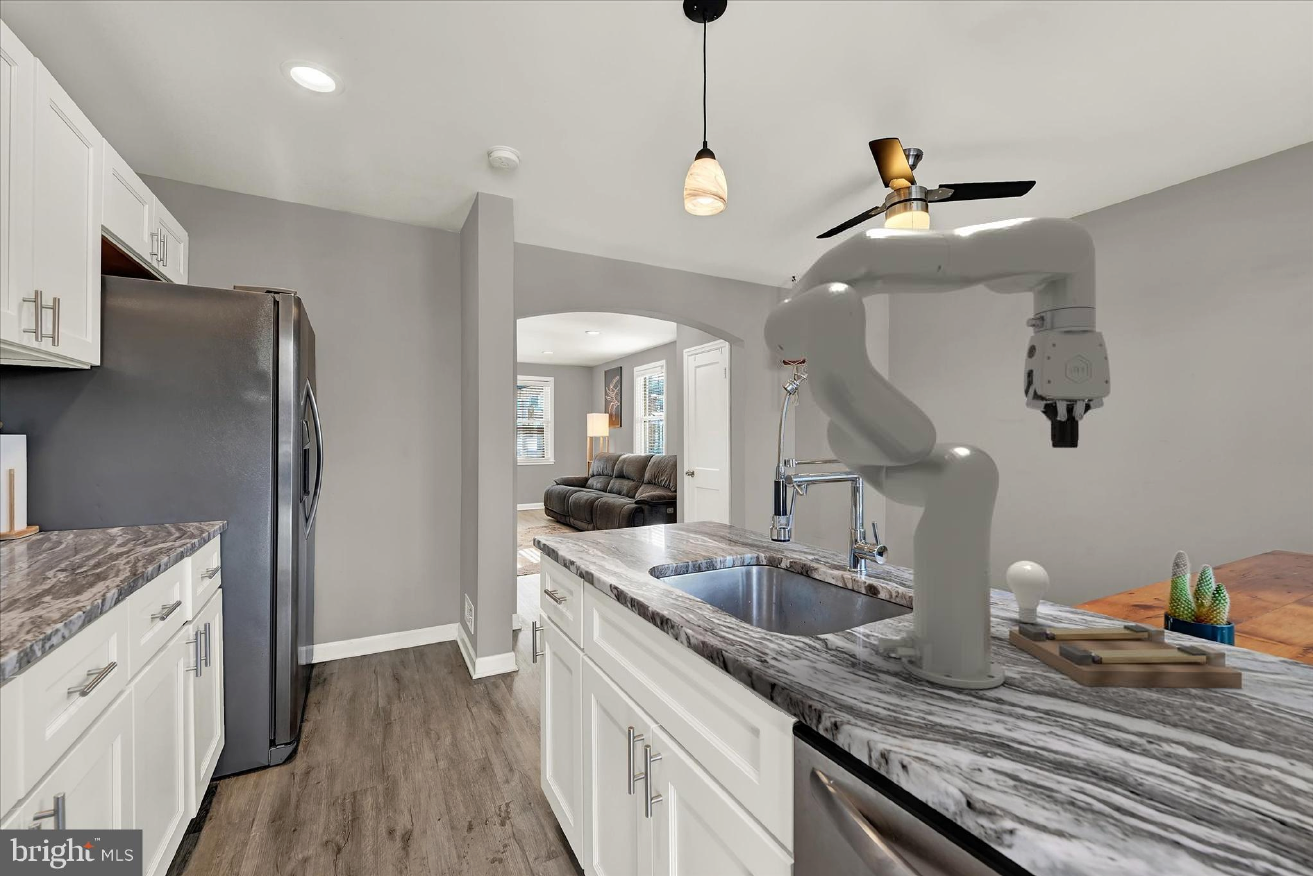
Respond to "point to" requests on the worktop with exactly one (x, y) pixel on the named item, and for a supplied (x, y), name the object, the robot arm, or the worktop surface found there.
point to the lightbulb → (1027, 587)
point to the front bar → (1148, 655)
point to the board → (1154, 674)
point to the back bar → (1096, 633)
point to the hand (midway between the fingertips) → (1064, 447)
